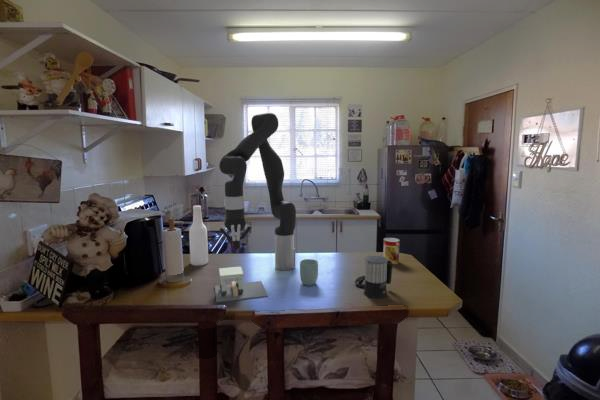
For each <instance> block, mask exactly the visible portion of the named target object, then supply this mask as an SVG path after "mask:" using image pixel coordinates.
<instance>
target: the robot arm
mask: <svg viewBox="0 0 600 400" xmlns="http://www.w3.org/2000/svg"><path fill="white" fill-rule="evenodd" d="M250 123H251V130H252V132H251V133H250V134H249V135H247V136H245V137H244V138H242V140H241V141H240V142H239V143H238V144H237V146H236V147H235V148H233V149H232V150H230V151H229V152H228V153H226V154H224V156H222V158H221V159H220V162H219V165H218V166H219V170H220V171H221V174H224V175H230V176H231V175H233V177H232V180H227V181H225V183H224V214H225V216H224V217H225V220H224V223H223V225H222V226H221V227H219V231H220V232H221V234H222V235H223V236H224V237H225V238H226V239H227V240H228V241H231V242H232V243H231V244H232V249H233V250H235V251H238V250H239V249H240V248H241V243H240V242H241V240H244V239H245V237H246V236H247V235H248V234H249V232H250V231H251V229H252V226H251V225H250V224H248V223H247V222H246V220H245V219H246V218H245V199H244V183H245V182H244V181H245V177H246V173H247V167H248V164H247V161H249V160H250V159H251V158H252V156H253V155H254V153H255V152H256V151H257V150H258V151H259V155H260V159H261V164H262V168H263V172H264V173H263V174H264V177H265V181H266V185H267V190H268V197H269V202H270V203H269V204H270V209H271V214H272V216H273V217H274V219H277V220H279V226H276V227H275V229H274V262H275V263H274V266H275V269H276V270H279V271H290V270H293V269H294V268H296V248H295V247H294V246H295V244H294V243H295V241H294V240H295V239H294V238H295V237H294V235H295V234H294V232H295V231H294V230H295V229H296V219H297V209H296V206H295V204H294V203H293V202H291V201H290V202H289V201H285V199H284V194H283V190H282V189H283V185H284V180H285V170H284V165H283V161H282V159H281V157H280V156H279V154H278V153H277V152H276V151H275V150H274V149H273V147H272V146H271V145H270V143H269V140H268V139H269V138H270V137H271V136H272V135H273V134H275V132H277V130H278V128H279V119H278V116H277V115H276V114H275V113H273V112H265V113H259V114H255V115H253V116H252V117H251V121H250ZM227 230H228V231H229V232H230V234H228V232H227ZM242 231H243V232H242ZM241 232H242V233H241Z"/></svg>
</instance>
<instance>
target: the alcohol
mask: <svg viewBox="0 0 600 400" xmlns="http://www.w3.org/2000/svg"><path fill="white" fill-rule="evenodd" d="M192 210H193V211H192V213H193V215H192V216H193V217H192V224H191V225H190V227H189V230H188V238H189V254H190V255H189V257H190V259H189V260H190V264H191V265H192V266H194V267H201V266H205V265H207V264H208V263H209V246H208V229H207V226H206V225H205V224H204V222H203V214H202V206H201V205H199V204H198V205H197V204H196V205H193V206H192Z"/></svg>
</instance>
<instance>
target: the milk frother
mask: <svg viewBox="0 0 600 400" xmlns="http://www.w3.org/2000/svg"><path fill="white" fill-rule="evenodd" d="M364 261H365V269H364V275H361V276H359V277H357V278H356V279H355V281H354V284H355V285H356V287H357V286H358V287H359V288H364V290H363V294H364V295H365V296H366V297H369V298H373V299H383V298H385V297H387V295H388V291H387V284H388V285H390V284H391V282H392V274H393V264H392V262H391V261H390V260H388V259H387V258H385V257H383V256H381V255H368V256H366V257H365V258H364ZM363 283H364V284H363Z"/></svg>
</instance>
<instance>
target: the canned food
mask: <svg viewBox="0 0 600 400" xmlns="http://www.w3.org/2000/svg"><path fill="white" fill-rule="evenodd" d="M382 249H383V250H382V251H383V256H382V257H385V258H387V259H388V260H390V261H391V262H392V265H398V264H399V262H400V260H399V259H400V239H399V238H395V237H384V238H383V248H382Z"/></svg>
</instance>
